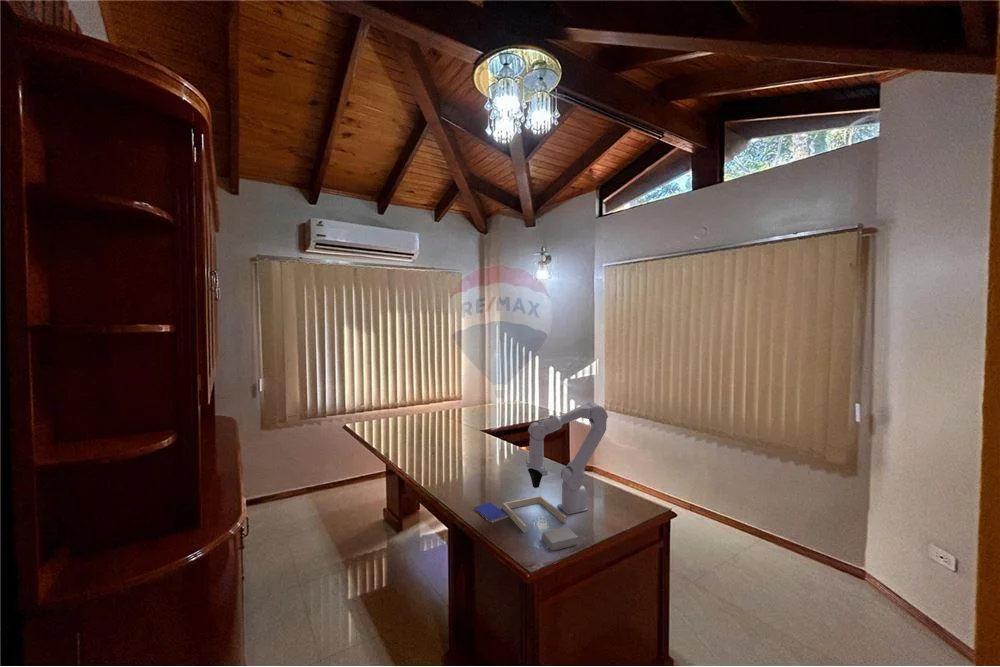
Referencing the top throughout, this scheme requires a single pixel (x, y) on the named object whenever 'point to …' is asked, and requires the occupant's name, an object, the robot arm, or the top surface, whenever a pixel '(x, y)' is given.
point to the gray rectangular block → (559, 538)
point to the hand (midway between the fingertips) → (535, 487)
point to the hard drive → (491, 512)
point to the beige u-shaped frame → (529, 501)
